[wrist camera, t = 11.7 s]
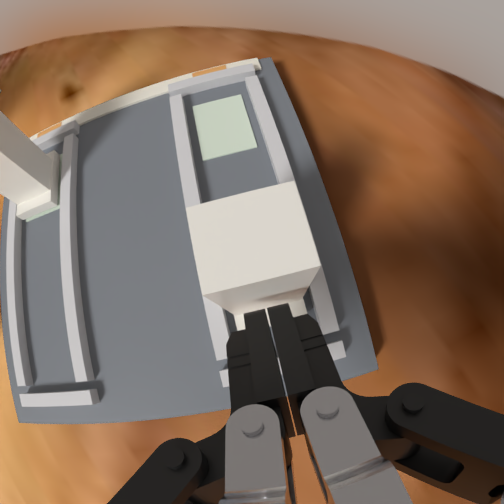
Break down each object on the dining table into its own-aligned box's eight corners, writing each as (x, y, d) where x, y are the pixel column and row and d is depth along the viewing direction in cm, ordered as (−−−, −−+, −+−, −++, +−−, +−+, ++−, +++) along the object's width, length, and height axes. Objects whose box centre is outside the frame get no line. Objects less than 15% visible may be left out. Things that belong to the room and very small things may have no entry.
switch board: (32, 419, 16) (11, 424, 14) (21, 157, 22) (6, 145, 20) (370, 367, 16) (383, 370, 14) (271, 71, 22) (270, 49, 19)
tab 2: (240, 334, 15) (204, 328, 8) (221, 254, 16) (177, 183, 9) (306, 317, 15) (333, 295, 8) (285, 238, 16) (289, 155, 9)
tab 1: (23, 220, 18) (-55, 172, 11) (27, 171, 19) (-38, 117, 12) (57, 205, 18) (-21, 147, 11) (60, 155, 19) (-4, 91, 12)
